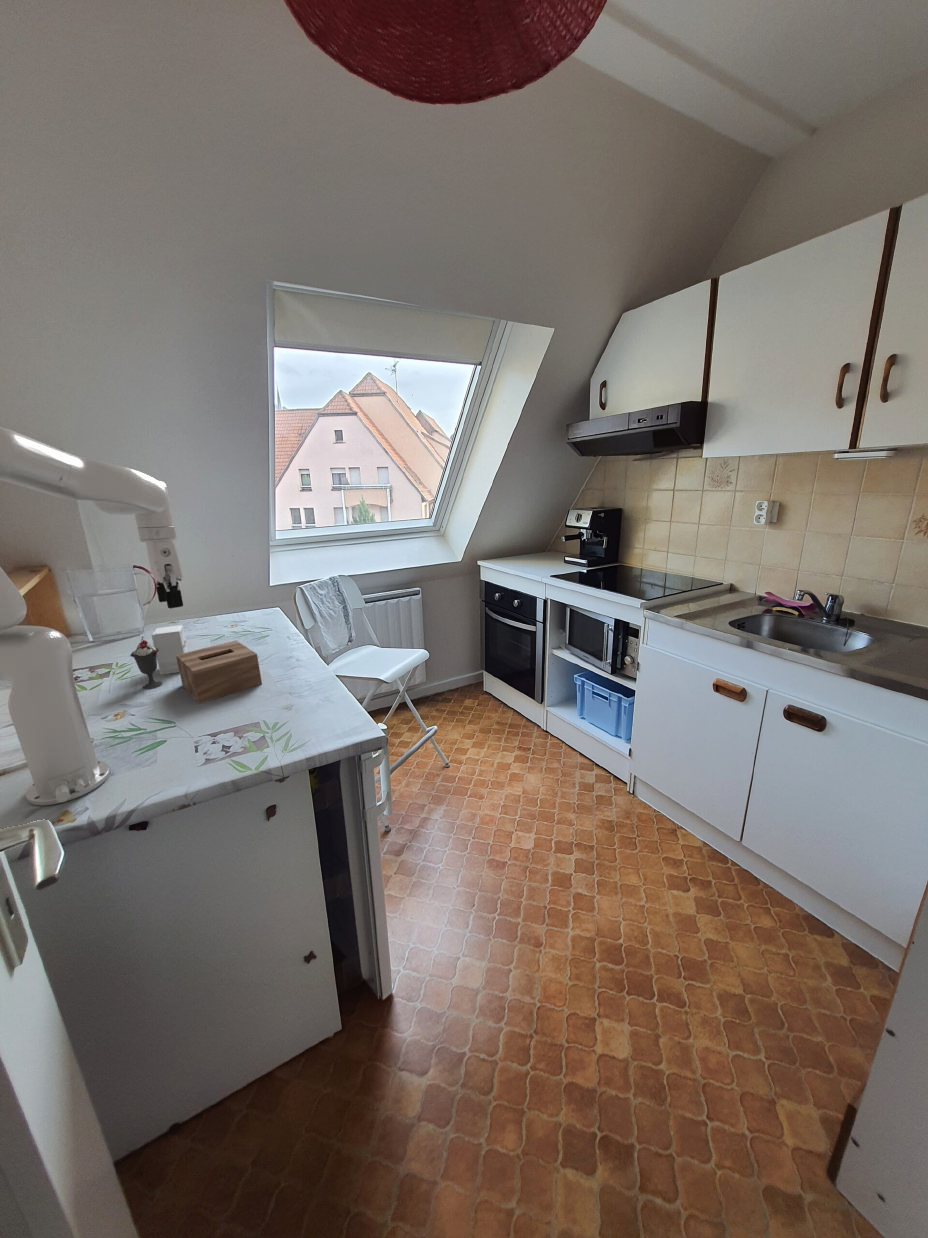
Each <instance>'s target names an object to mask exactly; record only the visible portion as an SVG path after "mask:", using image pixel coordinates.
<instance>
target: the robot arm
mask: <svg viewBox="0 0 928 1238" xmlns="http://www.w3.org/2000/svg"><path fill="white" fill-rule="evenodd" d="M0 481H2V482H5V483H9V484H13V485H17V486H19V487H24V488H26V489H29V490H33V491H36V492H39V493H44V494H46V495H50V496H53V497H56V498H59V499H68V500H75V501H92V502H93V504H94V506H95V507H97V509H99V510H100V511H101V512H103V513H106V514H109V515H115V516H127V515H134V518H135V519H134V520H135V523H136V528H137V529H136V530H137V533H138V538H139V542H140V543H145V546H146V551H147V557H148V562H149V566H150V567H149V569H150V571H151V575H152V578H153V579H154V580H155V586H156V587H155V589H156V593H157V598H158V601H159V602H160V603H165V602H166V605H167V608H168V609H175V608H182V607H183V606H184V602H183V597H182V596H183V595H182V591H181V587H180V585H179V582H181V581H183V579H184V577H183V576H184V575H183V572H182V567H181V564H180V561H179V556H178V550H177V548H176V544H175V541H176V540H177V532H176V527H175V523H174V517H173V511H172V506H171V500H170V495H169V490H168V487H167V484H166V483H165V482H164V481H161V480H157V479H155V478H154V477H153V476H152V477H151V476H150V475H147V474H146V473H143V472H141V471H139V470H136V469H133V468H129V467H126V466H124V465H123V466H122V465H118V464H114V463H110V462H106V461H101V460H97V459H93V458H89V457H85V456H80V455H76V454H72V453H69V452H67V451H65V450H62V449H59V448H57V447H54V446H52V445H49V444H47V443H46V442H45V443H44V442H42V441H39V440H37V439H36V438H35V439H34V438H32V437H30V436H27V435H25V434H22V433H19V432H17V431H14V430H12V429H9V428H6V427H3V426H0ZM25 600H26V599H25V598H24V597H23V595H22V593H21V592H20V590H19V589H18V588H17V586H16V585H15V584H14V583H13V581H12V580H11V578H10V577H9V576H8V574H6V572H5V571H4V570H3V568H2V567H1V566H0V681H4V682H10V683H11V690H10V693H9V697H8V703H7V705H8V706H7V707H8V708H7V709H8V713H9V716H10V719H11V721H12V725H13V727H14V730H15V732H16V736H17V739H18V741H19V744H20V747H21V750H22V753H23V756H24V758H25V762H26V765H27V767H28V770H29V773H30V776H31V779H32V783H31V784H30V785H29V786H28V788H27V789H26V791H25V798H26V800H27V802H28V803H29V804H31V805H34V806H52V805H58V804H61V803H65V802H70V801H72V800H74V799H76V798H80V797H82V796H84V795H86V794H88V793H90V792H92V791H93V790H96V789H97V788H98V787H101V785H102V784H103V783H105V782H106V781H107V779H109V777H110V774H111V768H110V764H108V763H107V762H106V761H102V760H97V759H98V757H97V756H96V753H95V749H94V746H93V742H92V739H91V736H90V732H89V728H88V725H87V721H86V719H85V715H84V711H83V707H82V704H81V702H80V698H79V694H78V691H77V688H76V683H75V679H74V671H73V670H74V669H73V648H72V646H71V642H70V641H69V639H68V638H67V637H66V635H64V634H63V633H62V632H61V631H58V630H56V629H54V628H51V627H47V626H41V625H19V624H20V623H22V621H23V620H24V619H25V618H26V615H27V609H28V607H27V603H26V601H25Z"/></svg>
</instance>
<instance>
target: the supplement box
mask: <svg viewBox="0 0 928 1238" xmlns="http://www.w3.org/2000/svg"><path fill="white" fill-rule="evenodd" d="M151 637H152V638H151V639H152V644H153V647H155V648H158V649H159V651H158V652H157V657H156V658H157V667H158V670H159V675H167V674H168V675H169V674H173V673H180V672H179V667H178V663H177V658H176V655H178V654H183V653H187V652H189V649H188V643H187V638H186V635H185V630H184V626H183V624H178V625H172V626H164V627H156V628H155V630H154V631H153V633H152V634H151Z"/></svg>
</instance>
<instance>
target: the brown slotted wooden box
mask: <svg viewBox="0 0 928 1238" xmlns="http://www.w3.org/2000/svg"><path fill="white" fill-rule="evenodd" d="M176 658H177V663H178V667H179V672H178V673H179V675H180V681H181V684H182V687H184V689H185V690H186V691H188V693H190V695H191V696H192V697H193V698H194V699H195V700H196V702H198V703H199V704H202V703H205V702H209V701H211V700H215V699H218V698H221V697H225V696H227V695H228V696H229V695H231V694H235V693H238V692H241V691H244V690H247V689H251V688H253V687H256V686H260V685H262V684H263V682H262V677H261V676H262V675H261V670H260V665H259V657H258V653H256V652H255V651H253V650H252V649H250V648H248V647H247V646H245V645H244V644H243V643H241V642H240V641H237V640H233V641H228V642H224V643H220V644H216V645H211V646H208V647H204V648H200V649H195V650H192V651H188V652H187V653H183V654H178V655H176Z"/></svg>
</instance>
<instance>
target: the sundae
mask: <svg viewBox="0 0 928 1238" xmlns="http://www.w3.org/2000/svg"><path fill="white" fill-rule="evenodd" d="M158 651H159V649H158V648H155V647H154V645H152V644H151V643H150V642H149V641H147V640H146V639H144V636H141V640H140V643H138V645H137V647H136V649H135V650H134V651H132V652H131V653H130V654H129V655H130V657H131V658H133V659H134V661H135V663H136V665H137V667H138V669H139V671H140V673H142V674H143V675H147V679H148V682H147V683H145V684H143V685H142V686H141V687H142V689H143V690H152V689H157V688H158V687H161V686H162V685H163V684H164V683H163V681H159V680H156V679H155V678H154V673H155V672H156V671H157V670H158V661H157V652H158Z"/></svg>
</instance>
